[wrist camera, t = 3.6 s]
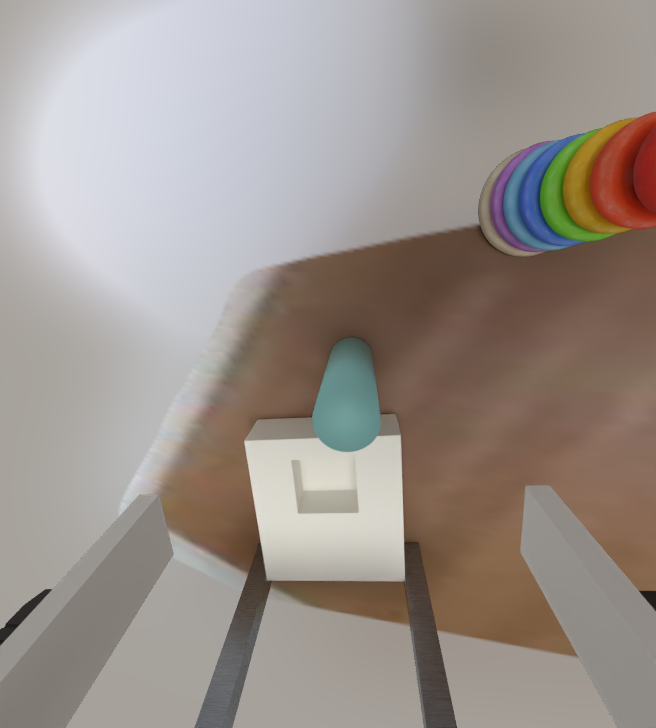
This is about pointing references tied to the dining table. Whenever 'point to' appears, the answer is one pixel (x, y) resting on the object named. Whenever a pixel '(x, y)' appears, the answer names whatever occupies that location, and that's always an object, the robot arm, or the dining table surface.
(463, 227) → the dining table surface
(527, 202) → the stacking toy
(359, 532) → the socket block
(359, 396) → the peg
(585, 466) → the dining table surface
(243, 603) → the grey rectangular frame
